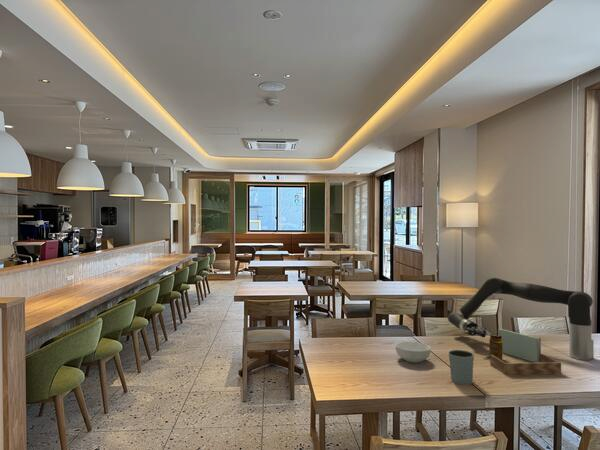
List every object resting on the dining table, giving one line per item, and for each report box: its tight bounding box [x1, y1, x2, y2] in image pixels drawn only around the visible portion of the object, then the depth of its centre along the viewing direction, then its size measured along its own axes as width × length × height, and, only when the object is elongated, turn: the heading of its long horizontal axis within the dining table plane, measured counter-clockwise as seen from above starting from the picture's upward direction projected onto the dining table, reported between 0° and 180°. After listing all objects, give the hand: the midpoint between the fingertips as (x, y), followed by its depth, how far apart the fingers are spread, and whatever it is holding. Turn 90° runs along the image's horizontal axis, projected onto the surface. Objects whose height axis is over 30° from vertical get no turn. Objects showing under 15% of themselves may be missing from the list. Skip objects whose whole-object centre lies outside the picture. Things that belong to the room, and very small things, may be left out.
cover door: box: [497, 328, 542, 363], centre depth 205 cm, size 22×1×13 cm, turn 27°
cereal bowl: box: [395, 341, 432, 364], centre depth 201 cm, size 17×17×7 cm
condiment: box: [483, 333, 506, 361], centre depth 203 cm, size 7×8×12 cm
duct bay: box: [489, 353, 562, 376], centre depth 188 cm, size 26×13×5 cm, turn 92°
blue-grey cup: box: [448, 349, 475, 386], centre depth 174 cm, size 10×10×12 cm
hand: (483, 335), depth 213 cm, fingers closed
